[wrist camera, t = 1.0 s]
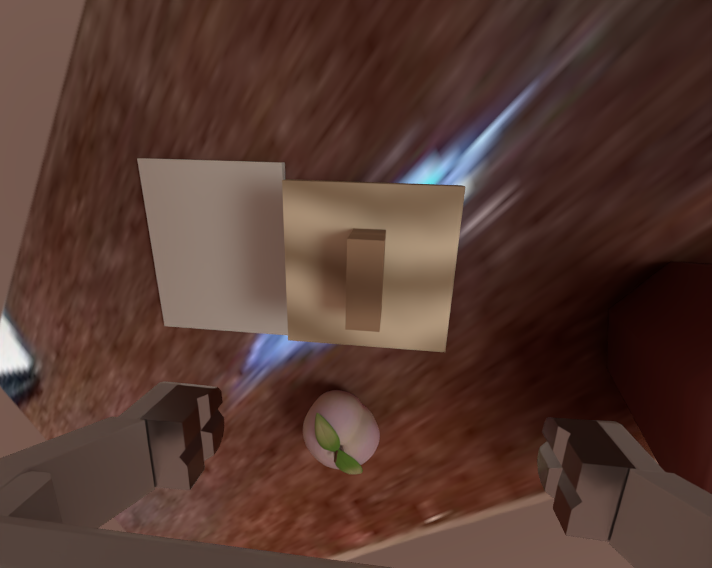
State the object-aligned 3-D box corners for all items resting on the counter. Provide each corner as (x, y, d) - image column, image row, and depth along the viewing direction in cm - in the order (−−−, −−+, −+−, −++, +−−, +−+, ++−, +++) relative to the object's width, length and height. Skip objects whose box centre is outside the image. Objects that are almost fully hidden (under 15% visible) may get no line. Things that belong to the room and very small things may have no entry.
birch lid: (286, 179, 30) (264, 183, 25) (462, 185, 29) (476, 191, 24) (291, 334, 34) (274, 363, 30) (443, 345, 33) (451, 378, 28)
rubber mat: (143, 158, 41) (137, 158, 40) (284, 162, 39) (281, 162, 38) (169, 322, 47) (164, 325, 46) (290, 331, 46) (288, 335, 45)
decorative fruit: (299, 394, 49) (275, 451, 39) (344, 362, 46) (331, 414, 37) (345, 441, 51) (333, 506, 41) (392, 412, 48) (390, 474, 39)
